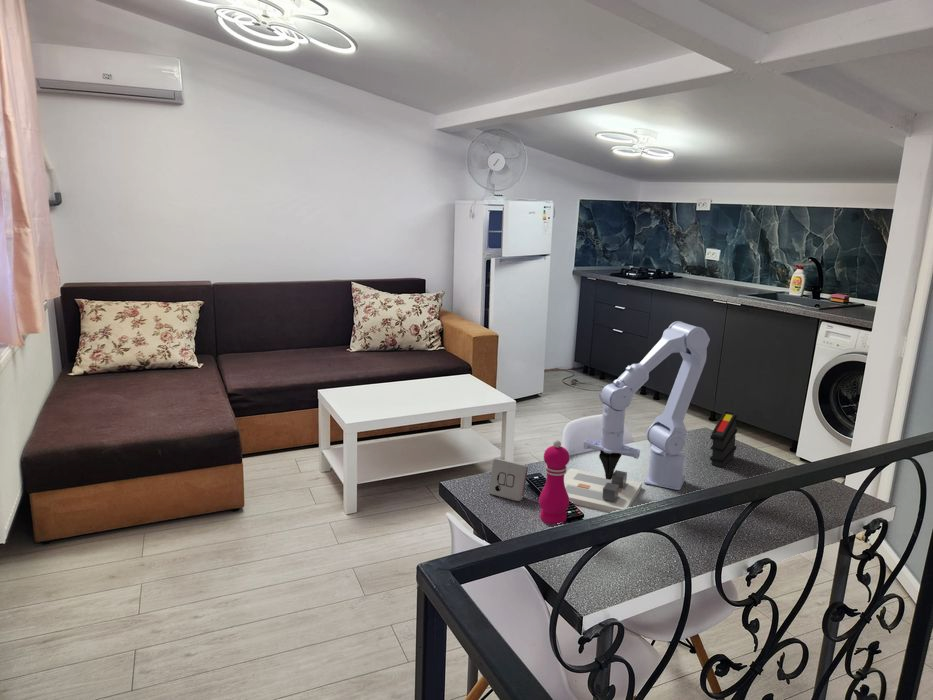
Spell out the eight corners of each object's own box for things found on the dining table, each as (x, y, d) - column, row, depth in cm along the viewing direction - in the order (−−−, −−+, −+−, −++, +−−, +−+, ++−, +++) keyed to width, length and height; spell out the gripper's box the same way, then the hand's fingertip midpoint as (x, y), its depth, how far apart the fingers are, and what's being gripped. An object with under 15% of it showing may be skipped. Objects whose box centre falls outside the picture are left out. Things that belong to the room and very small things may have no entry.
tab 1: (618, 495, 168) (619, 484, 167) (614, 501, 164) (614, 490, 164) (606, 492, 169) (607, 482, 168) (602, 498, 166) (603, 488, 165)
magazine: (739, 449, 201) (737, 412, 193) (723, 478, 193) (720, 441, 186) (726, 446, 203) (724, 409, 196) (710, 475, 196) (707, 437, 188)
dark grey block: (626, 482, 176) (627, 472, 175) (622, 487, 172) (623, 477, 171) (615, 479, 177) (615, 470, 176) (611, 485, 173) (611, 475, 173)
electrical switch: (487, 494, 171) (490, 460, 170) (496, 488, 176) (499, 455, 174) (520, 503, 167) (523, 467, 165) (528, 497, 171) (531, 463, 170)
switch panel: (641, 488, 177) (641, 482, 176) (625, 515, 161) (625, 509, 161) (569, 473, 185) (570, 467, 185) (547, 497, 170) (548, 491, 169)
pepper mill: (532, 514, 161) (536, 437, 156) (558, 509, 163) (562, 433, 159) (547, 528, 154) (551, 447, 150) (574, 522, 157) (578, 443, 152)
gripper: (581, 429, 172) (578, 478, 175) (636, 439, 166) (632, 489, 169) (589, 421, 178) (586, 468, 181) (643, 431, 172) (639, 479, 175)
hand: (609, 478), depth 175 cm, fingers closed
